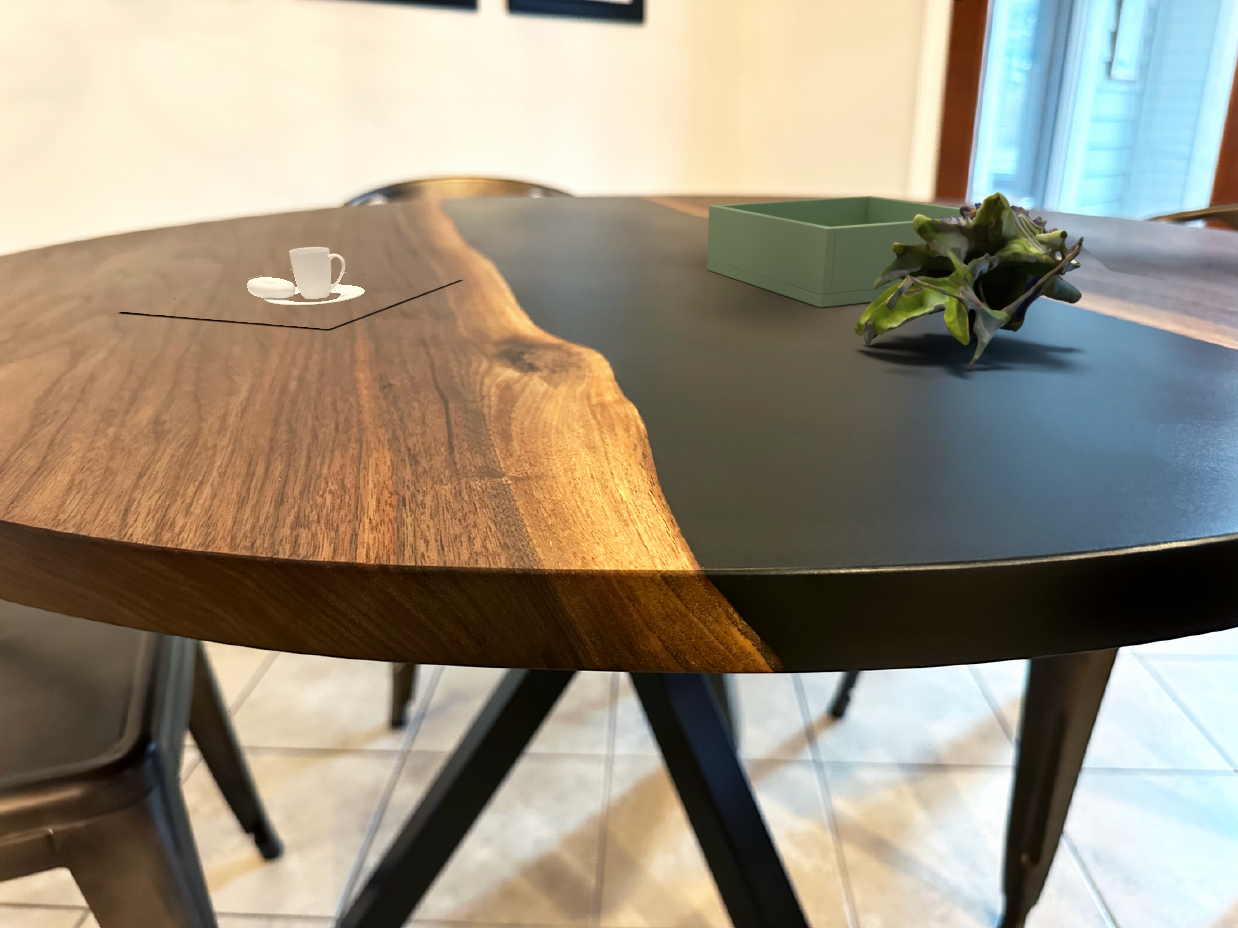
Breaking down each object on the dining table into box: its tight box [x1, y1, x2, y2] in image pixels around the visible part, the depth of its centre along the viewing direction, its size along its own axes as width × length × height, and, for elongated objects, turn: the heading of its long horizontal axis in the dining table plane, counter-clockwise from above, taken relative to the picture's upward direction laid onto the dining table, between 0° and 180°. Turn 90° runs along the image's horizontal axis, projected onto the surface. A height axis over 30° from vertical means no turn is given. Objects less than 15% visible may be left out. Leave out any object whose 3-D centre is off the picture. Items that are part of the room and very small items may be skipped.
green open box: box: [706, 195, 964, 309], centre depth 75 cm, size 19×19×6 cm
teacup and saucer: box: [247, 246, 365, 305], centre depth 69 cm, size 9×8×4 cm
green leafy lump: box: [854, 191, 1085, 371], centre depth 51 cm, size 11×11×12 cm
